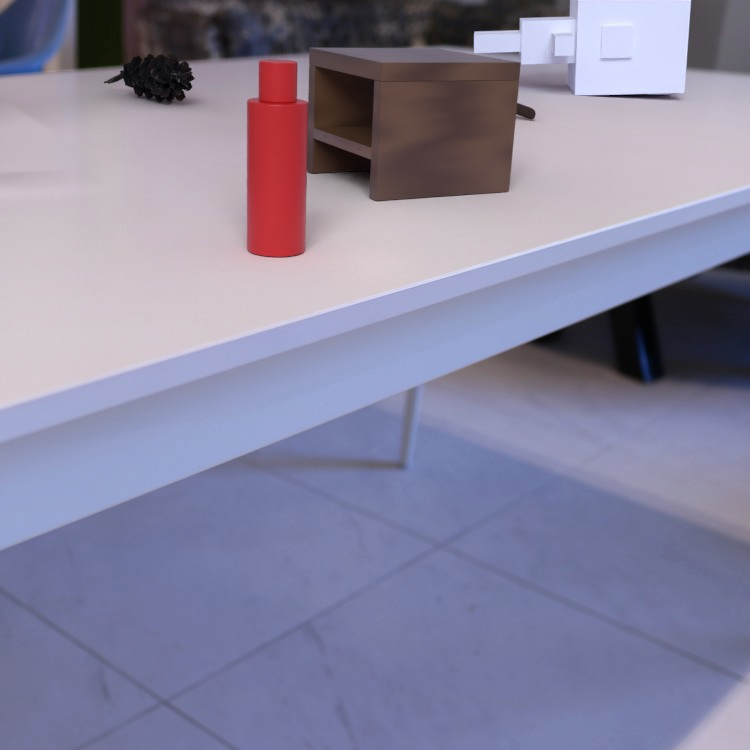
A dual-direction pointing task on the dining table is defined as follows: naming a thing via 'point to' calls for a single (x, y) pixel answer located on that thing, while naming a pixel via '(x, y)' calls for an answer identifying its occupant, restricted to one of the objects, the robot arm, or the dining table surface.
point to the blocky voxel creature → (606, 45)
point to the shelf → (413, 119)
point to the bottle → (276, 163)
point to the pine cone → (157, 77)
